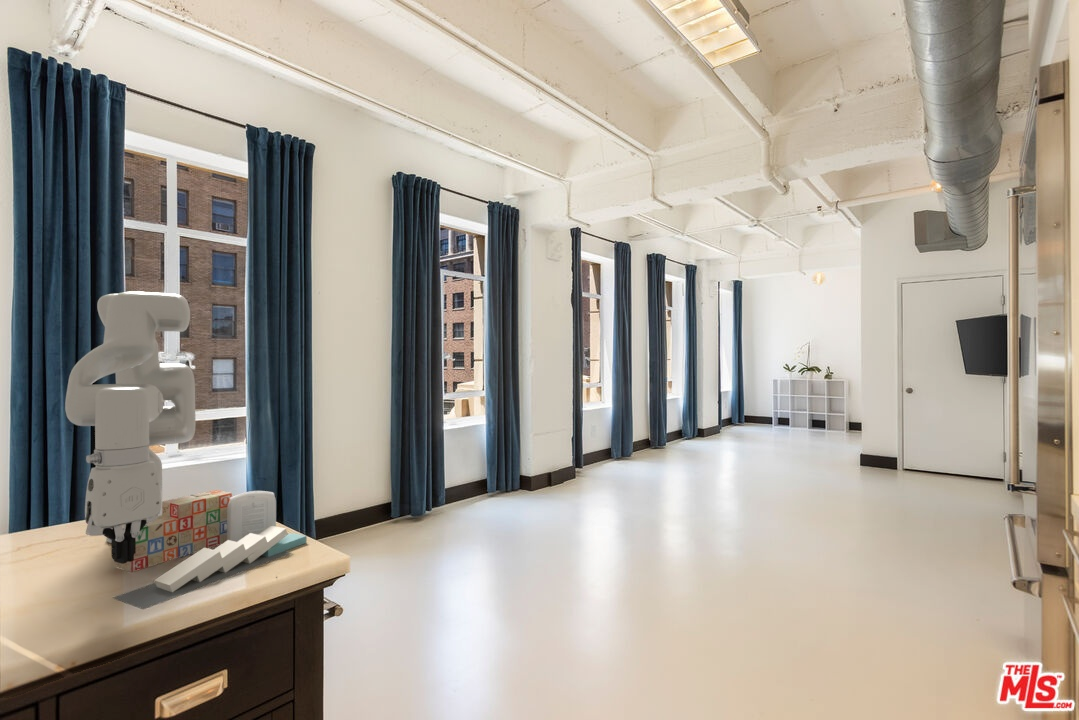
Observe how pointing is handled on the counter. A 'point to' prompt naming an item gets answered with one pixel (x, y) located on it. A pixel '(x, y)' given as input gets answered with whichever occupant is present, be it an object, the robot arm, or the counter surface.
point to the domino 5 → (286, 544)
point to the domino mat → (187, 584)
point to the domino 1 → (188, 569)
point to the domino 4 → (268, 541)
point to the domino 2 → (227, 552)
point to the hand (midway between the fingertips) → (123, 561)
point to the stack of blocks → (181, 529)
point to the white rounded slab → (250, 514)
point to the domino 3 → (250, 544)
